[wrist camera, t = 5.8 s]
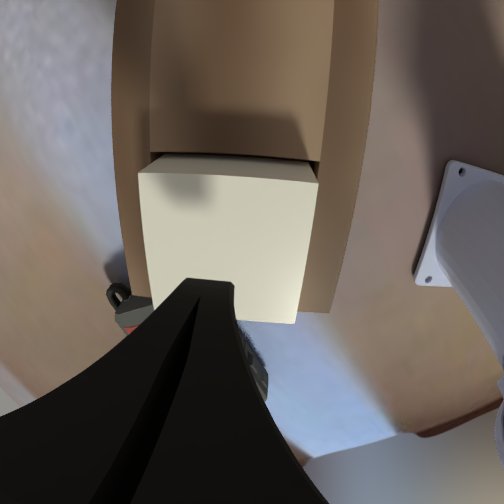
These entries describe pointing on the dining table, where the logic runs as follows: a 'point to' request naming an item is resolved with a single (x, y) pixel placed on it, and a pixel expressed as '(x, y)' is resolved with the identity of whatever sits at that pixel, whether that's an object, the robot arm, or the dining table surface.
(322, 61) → the key base
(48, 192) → the dining table surface
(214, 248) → the cream key
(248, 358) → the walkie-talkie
